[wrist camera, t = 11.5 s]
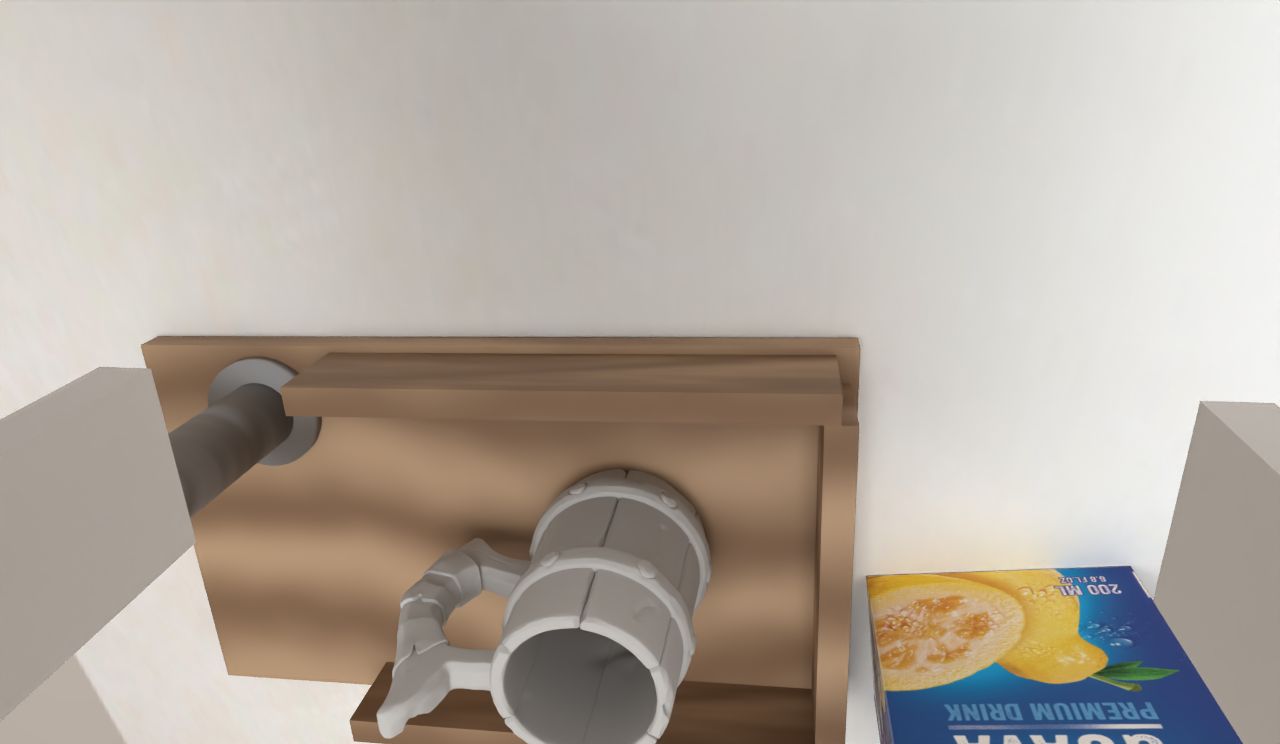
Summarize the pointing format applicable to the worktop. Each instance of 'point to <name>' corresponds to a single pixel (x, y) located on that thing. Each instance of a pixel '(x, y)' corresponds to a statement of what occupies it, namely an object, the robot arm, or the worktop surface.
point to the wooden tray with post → (518, 502)
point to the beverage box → (1032, 661)
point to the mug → (567, 618)
